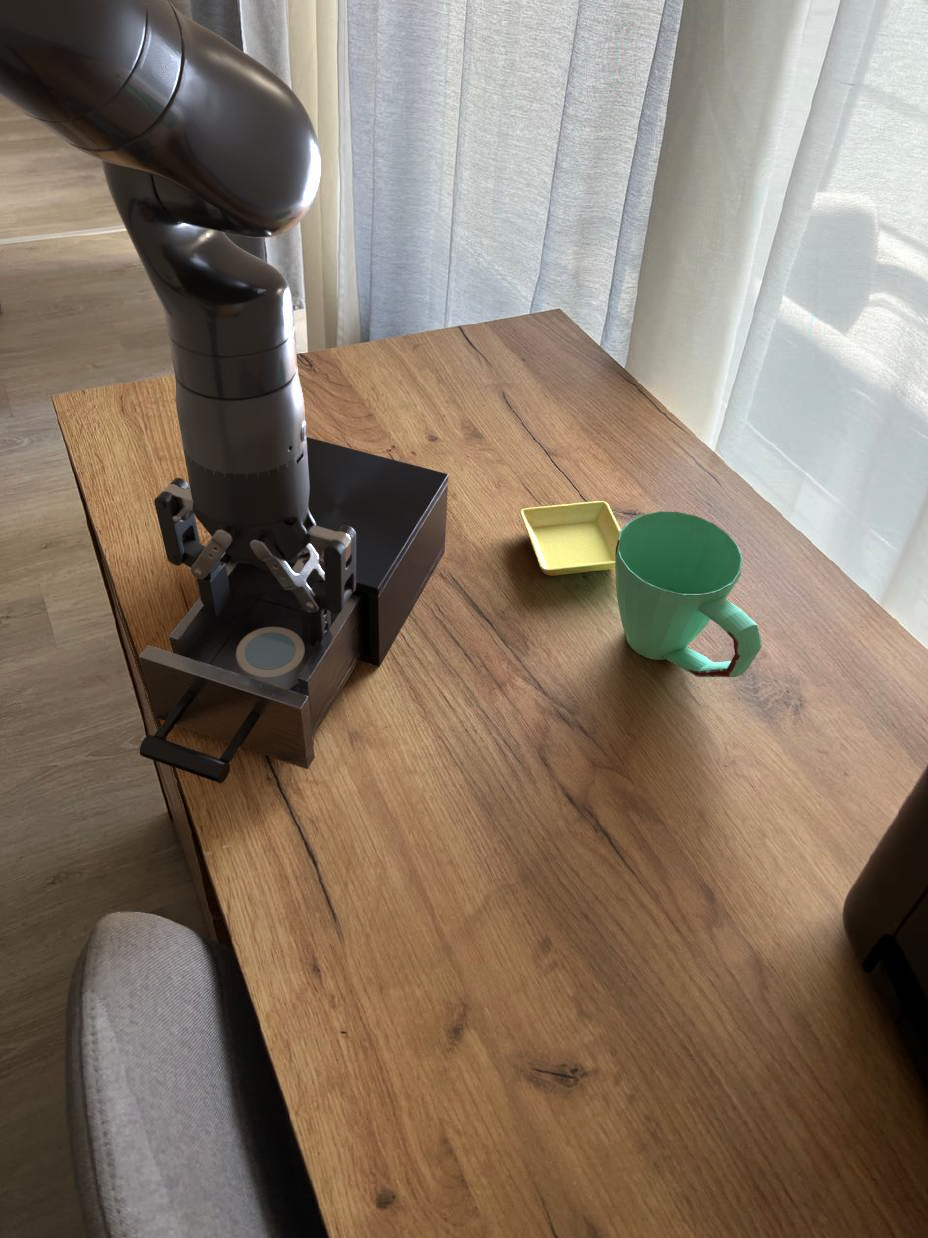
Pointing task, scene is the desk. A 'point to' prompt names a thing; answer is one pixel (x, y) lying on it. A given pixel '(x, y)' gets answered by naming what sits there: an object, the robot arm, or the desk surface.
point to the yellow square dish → (572, 537)
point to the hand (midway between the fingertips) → (266, 622)
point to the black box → (380, 529)
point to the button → (272, 656)
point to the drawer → (239, 705)
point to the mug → (681, 591)
